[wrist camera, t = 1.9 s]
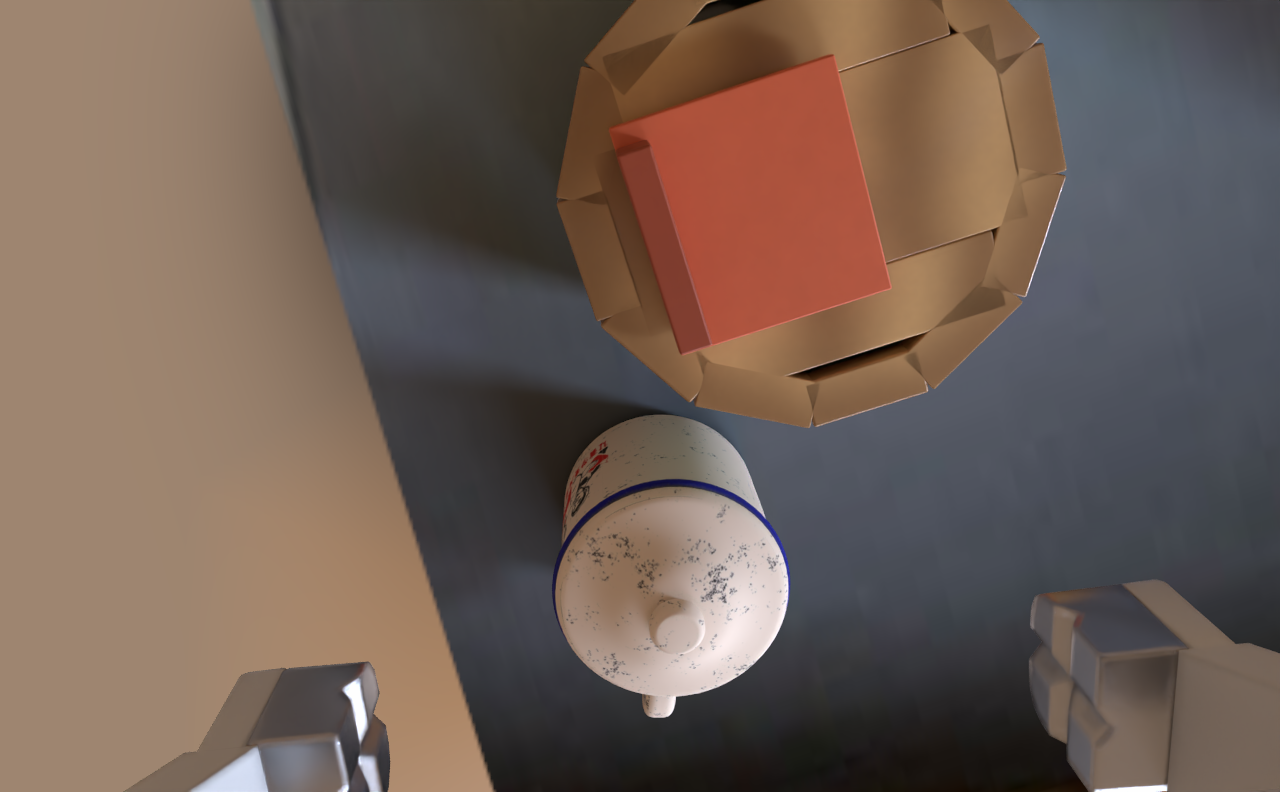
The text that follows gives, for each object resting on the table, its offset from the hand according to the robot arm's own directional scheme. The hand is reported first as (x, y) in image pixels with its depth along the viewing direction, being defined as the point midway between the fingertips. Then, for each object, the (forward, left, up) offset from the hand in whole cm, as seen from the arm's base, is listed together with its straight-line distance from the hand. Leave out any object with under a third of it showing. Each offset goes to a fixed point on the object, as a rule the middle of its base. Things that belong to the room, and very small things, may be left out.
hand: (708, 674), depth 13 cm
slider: (-4, -2, -21) cm, 21 cm away
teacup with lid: (+3, +13, -33) cm, 36 cm away
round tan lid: (-6, -2, -22) cm, 23 cm away
